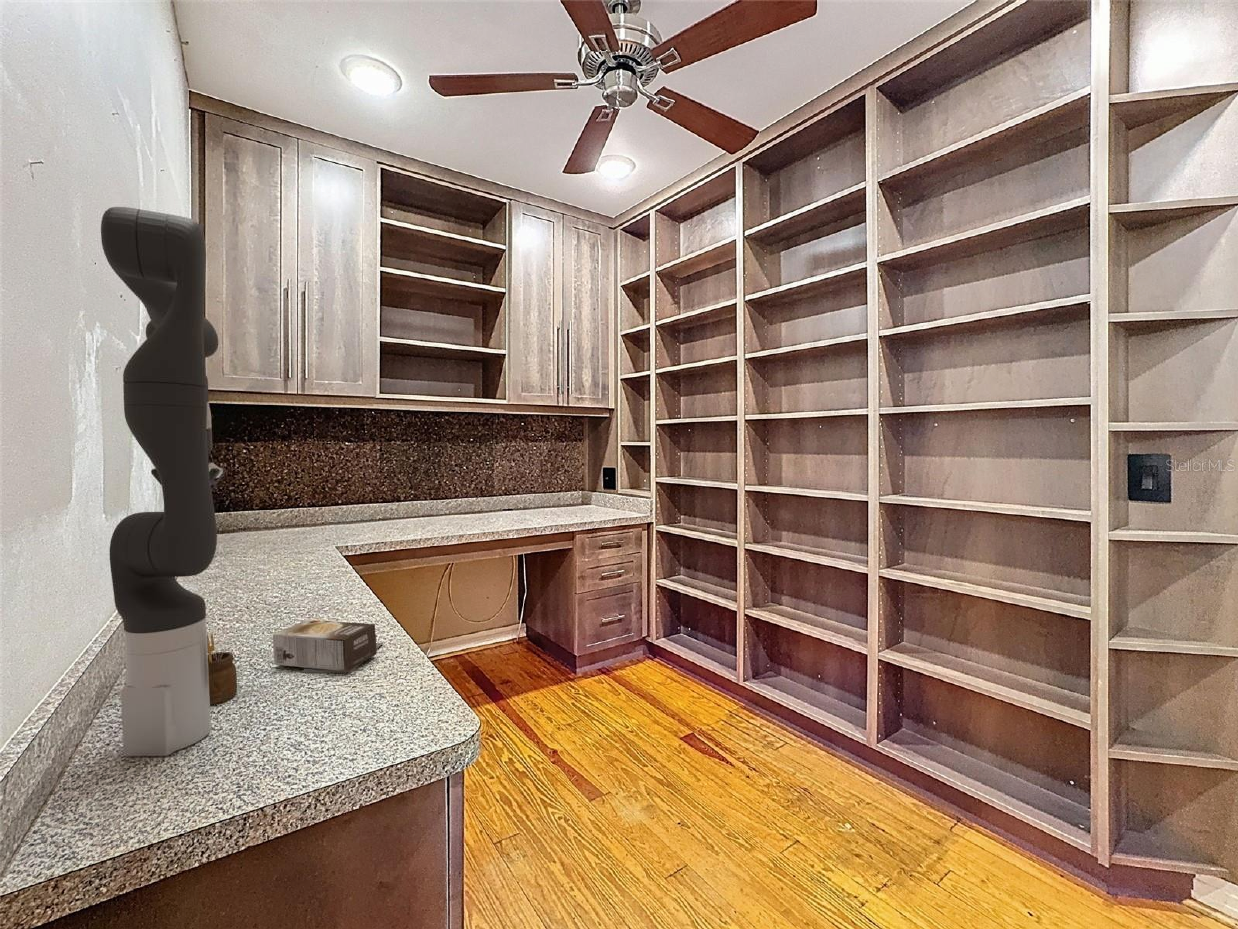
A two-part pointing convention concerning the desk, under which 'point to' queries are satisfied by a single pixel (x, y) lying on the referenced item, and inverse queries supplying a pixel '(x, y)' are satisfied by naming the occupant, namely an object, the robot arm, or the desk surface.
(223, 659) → the utensil holder
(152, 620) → the robot arm
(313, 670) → the grey flat board
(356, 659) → the coffee box
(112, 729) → the desk surface
